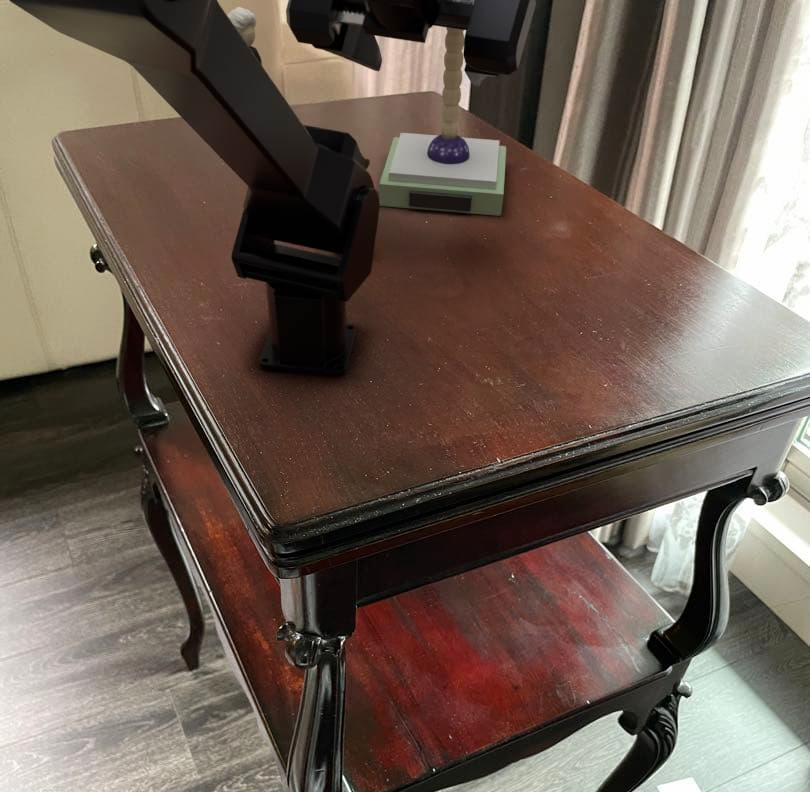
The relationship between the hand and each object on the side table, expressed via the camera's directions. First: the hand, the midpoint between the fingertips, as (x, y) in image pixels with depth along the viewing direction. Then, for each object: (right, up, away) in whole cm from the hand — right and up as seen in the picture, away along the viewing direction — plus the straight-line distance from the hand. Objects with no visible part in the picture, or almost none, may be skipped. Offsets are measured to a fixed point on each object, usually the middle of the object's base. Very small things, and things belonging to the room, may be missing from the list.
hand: (428, 73), depth 73 cm
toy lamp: (+2, -2, +11) cm, 12 cm away
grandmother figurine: (-19, +4, +20) cm, 28 cm away
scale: (+2, -4, +14) cm, 14 cm away
